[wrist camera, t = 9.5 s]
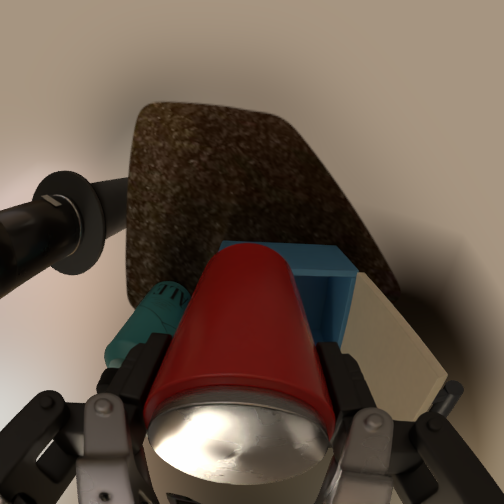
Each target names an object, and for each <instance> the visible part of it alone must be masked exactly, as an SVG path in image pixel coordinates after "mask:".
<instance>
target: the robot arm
mask: <svg viewBox="0 0 504 504" xmlns="http://www.w3.org/2000/svg"><path fill="white" fill-rule="evenodd" d="M41 197H43V199H39V200H35V201H31V202H28V203H24V204H21V205H18V206H14V207H11V208H8V209H4V210H1V211H0V299H1V298H3V297H4V296H6V295H7V294H8V293H10V292H11V291H13V290H14V289H15V288H17V287H18V286H20V285H21V284H23V283H24V282H26V281H28V280H29V279H31V278H32V277H34V276H35V275H37V274H38V273H40V272H42V271H43V270H45V269H46V268H48V267H50V266H51V265H53V264H55V263H56V262H58V261H60V260H61V259H63V258H65V257H67V256H70V255H71V254H73V253H75V252H76V251H77V250H78V249H79V247H80V246H81V244H82V241H83V237H84V221H83V217H82V214H81V211H80V209H79V207H78V205H77V204H76V203H75V201H74V200H73V199H72V198H70V197H69V196H67V195H64V194H56V195H52V196H48V195H44V196H41ZM171 341H172V336H171V334H164V333H156V332H152V333H151V335H150V337H149V338H148V340H147V342H146V343H138V344H137V345H136V346H134V347H133V348H132V349H130V351H129V352H128V354H127V356H126V357H125V360H124V361H123V362H122V364H121V367H120V368H119V369H118V371H117V373H116V374H115V376H114V378H113V380H112V381H111V383H110V385H109V387H108V388H107V390H106V392H105V393H99V394H96V395H94V396H92V397H91V398H89V399H88V400H87V402H86V403H69V402H65V401H64V399H63V397H62V395H61V394H60V393H58V392H56V391H53V390H46V391H43V392H40V393H39V394H37V395H36V396H35V397H34V398H33V399H32V400H31V401H30V402H29V403H28V404H27V405H26V406H25V407H24V408H23V409H22V410H21V411H20V412H19V413H18V414H17V415H16V416H15V417H14V418H13V419H12V420H11V421H10V422H9V423H8V424H7V425H6V426H5V427H4V428H3V429H2V431H1V432H0V504H56V503H57V501H58V500H59V498H60V497H61V495H62V494H63V493H64V491H65V490H66V488H67V487H68V486H69V484H70V483H71V481H72V480H73V478H74V477H75V476H76V479H77V492H78V502H79V504H159V501H158V499H157V497H156V494H155V492H154V490H153V487H152V483H151V479H150V475H149V471H148V466H147V462H146V458H145V452H144V448H143V445H142V444H143V441H144V438H145V437H148V435H147V428H146V426H145V423H144V419H143V409H144V404H145V402H146V399H147V397H148V395H149V392H150V390H151V387H152V385H153V383H154V380H155V378H156V375H157V373H158V371H159V368H160V366H161V364H162V361H163V359H164V357H165V354H166V352H167V350H168V348H169V345H170V343H171ZM316 350H317V353H318V357H319V360H320V364H321V367H322V370H323V374H324V378H325V381H326V385H327V388H328V392H329V395H330V399H331V403H332V406H333V410H334V414H335V419H336V426H335V431H334V434H333V436H332V438H331V440H330V441H329V447H328V448H331V447H332V448H333V452H334V455H333V457H332V459H331V461H330V464H329V467H328V470H327V473H326V476H325V479H324V481H323V484H322V487H321V489H320V492H319V495H318V497H317V499H316V501H315V503H314V504H390V499H391V494H392V489H393V487H394V489H395V490H396V492H397V494H398V496H399V498H400V499H401V501H402V503H403V504H504V493H503V492H502V491H501V489H500V488H499V486H498V485H497V484H496V482H495V481H494V479H493V478H492V477H491V475H490V474H489V473H488V471H487V470H486V469H485V468H484V466H483V465H482V463H481V462H480V461H479V459H478V458H477V457H476V455H475V454H474V453H473V451H472V450H471V449H470V448H469V446H468V445H467V444H466V442H465V441H464V440H463V439H462V437H461V436H460V435H459V434H458V432H457V431H456V430H455V429H454V427H453V426H452V425H451V424H450V422H449V421H448V420H447V419H446V418H445V417H444V416H443V415H441V414H440V413H437V412H425V413H423V414H421V415H420V416H419V417H418V419H417V420H416V421H415V422H414V421H398V420H393V419H392V417H391V416H390V415H389V414H388V413H387V412H386V411H384V410H382V409H379V408H377V406H376V404H375V401H374V399H373V397H372V394H371V392H370V389H369V387H368V385H367V383H366V380H364V376H363V373H362V372H361V369H360V367H359V364H358V362H357V361H356V360H355V359H354V358H353V357H352V356H351V355H350V354H349V353H346V354H342V353H341V351H340V348H339V346H338V343H337V342H317V344H316ZM52 439H53V440H54V441H53V442H52V443H51V445H50V446H49V447H48V448H47V450H46V451H45V452H44V454H42V456H41V457H40V458H39V460H38V461H37V462H36V459H37V457H38V456H39V454H40V453H41V452H42V451H43V449H44V448H45V447H46V446H47V445H48V444H49V442H50V441H51V440H52ZM425 463H426V464H425ZM427 466H428V467H427ZM429 469H430V470H429ZM431 472H432V473H431ZM433 475H434V476H433ZM436 480H437V481H436Z"/></svg>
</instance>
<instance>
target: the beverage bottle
mask: <svg viewBox="0 0 504 504" xmlns="http://www.w3.org/2000/svg"><path fill="white" fill-rule="evenodd" d="M153 286H154V285H153ZM148 292H149V291H148ZM146 294H147V293H146ZM144 297H145V296H144ZM144 297H143V298H144ZM190 299H191V296H190V294H189V292H188V291H187V290H186V289H185V288H184V287H183V286H182V285H180V284H178V283H176V282H172V281H163V282H160V283H157V284H156V285H155V286H154V287H153V288H152V289H151V290H150V292H149V293H148V294H147V295H146V297H145V298H144V299H143V301H142V302H141V303H140V302H139V303H140V304H139V306H138V305H137V306H138V307H137V306H136V307H137V308H136V310H135V311H134V313H133V314H132V315H131V317H130V318H129V319H128V321H127V322H126V323H125V325H124V326H123V327H122V328H121V330H120V331H119V332H118V334H117V335H116V336H115V338H114V339H113V340H112V342H111V343H110V344H109V345H108V346H107V347H106V349H105V355H104V359H105V362H106V366H107V369H105V370H104V372H103V373H102V375H101V378H100V380H99V382H98V384H97V388H96V390H97V394H99V393H105V392H106V390H107V388H108V387H109V385H110V383H111V381H112V380H113V378H114V376H115V374H116V373H117V371H118V369H119V368H120V367H121V364H122V362H123V361H124V360H125V357H126V356H127V354H128V352H129V351H130V349H132V348H133V347H134V346H136V345H137V344H138V343H146V342H147V340H148V338H149V337H150V335H151V333H152V332H156V333H164V334H171V336H172V339H173V336H174V334H175V332H176V330H177V327H178V325H179V323H180V321H181V318H182V316H183V314H184V312H185V310H186V308H187V305H188V303H189V301H190Z"/></svg>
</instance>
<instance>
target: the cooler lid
mask: <svg viewBox="0 0 504 504" xmlns="http://www.w3.org/2000/svg"><path fill="white" fill-rule="evenodd" d="M340 351H341V353H342V354H346V353H349V354H350V355H351V356H352V357H353V358H354V359H355V360H356V361H357V362H358V364H359V367H360V369H361V372H362V373H363V376H364V380H366V383H367V385H368V387H369V389H370V392H371V394H372V397H373V399H374V401H375V404H376V406H377V408H379V409H382V410H384V411H386V412H387V413H388V414H389V415H390V416H391V417H392V419H393V420H398V421H414V422H415V421H416V420H417V419H418V417H419V416H420V415H421V414H423V413H425V412H426V411H427V410H428V408H429V407H430V405H431V404H433V406H432V407H431V409H430V410H429V412H437V413H440V414H441V415H443V416H444V417H445V418H446V417H447V416H448V415H449V413H450V412H451V410H452V409H453V407H454V406H455V404H456V403H457V401H458V400H459V398H460V397H461V395H462V394H463V391H464V388H463V386H462V385H461V384H460V383H459V382H457V381H454V380H451V381H448V382H447V383H446V385H445V386H444V388H443V389H442V390H440V389H441V387H442V385H443V383H444V381H445V380H446V378H447V376H448V374H447V373H446V372H445V370H444V369H443V368H442V366H441V365H440V364H439V362H438V361H437V360H436V358H435V357H434V356H433V354H432V353H431V352H430V350H429V349H428V348H427V347H426V345H425V344H424V343H423V341H422V340H421V339H420V338H419V336H418V335H417V334H416V333H415V331H414V330H413V329H412V328H411V326H410V325H409V324H408V323H407V322H406V320H405V319H404V318H403V317H402V316H401V314H400V313H399V312H398V311H397V310H396V308H395V307H394V306H393V305H392V304H391V303H390V301H389V300H388V299H387V298H386V297H385V296H384V294H383V293H382V292H381V291H380V290H379V289H378V288H377V286H376V285H375V284H374V283H373V282H372V281H371V280H370V279H369V277H368V276H367V275H366V274H365V273H357V277H356V283H355V288H354V293H353V298H352V303H351V307H350V312H349V316H348V321H347V325H346V329H345V333H344V337H343V341H342V345H341V349H340Z"/></svg>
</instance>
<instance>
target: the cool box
mask: <svg viewBox="0 0 504 504" xmlns="http://www.w3.org/2000/svg"><path fill="white" fill-rule="evenodd" d="M239 243H256V244H260V245H264V246H266V247H269V248H271V249H273V250H274V251H276V252H277V253H279V254H280V255H281V256H282V257H283V258H284V259H285V260H286V262H287V263H288V264H289V266H290V268H291V270H292V272H293V275H294V278H295V282H296V285H297V288H298V291H299V294H300V297H301V300H302V304H303V307H304V310H305V313H306V317H307V320H308V323H309V326H310V330H311V333H312V336H313V340H314V343H315V346H316V344H317V342H337V343H338V346H339V348H340V349H341V345H342V341H343V337H344V333H345V329H346V325H347V321H348V316H349V312H350V307H351V303H352V298H353V293H354V288H355V283H356V277H357V273H359V270H358V269H357V268H356V267H355V266H354V265H353V264H352V262H351V261H350V260H349V259H348V258H347V257H346V256H345V255H344V254H343V252H342V251H341V250H340V249H339V248H338V247H337V246H334V245H314V244H292V243H269V242H245V241H223V242H222V244H221V246H220V248H219V251H221V250H222V249H224V248H226V247H228V246H231V245H235V244H239ZM219 251H218V252H219Z"/></svg>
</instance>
